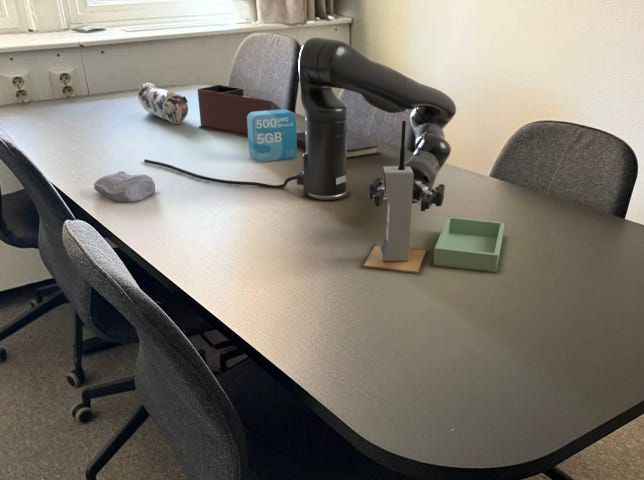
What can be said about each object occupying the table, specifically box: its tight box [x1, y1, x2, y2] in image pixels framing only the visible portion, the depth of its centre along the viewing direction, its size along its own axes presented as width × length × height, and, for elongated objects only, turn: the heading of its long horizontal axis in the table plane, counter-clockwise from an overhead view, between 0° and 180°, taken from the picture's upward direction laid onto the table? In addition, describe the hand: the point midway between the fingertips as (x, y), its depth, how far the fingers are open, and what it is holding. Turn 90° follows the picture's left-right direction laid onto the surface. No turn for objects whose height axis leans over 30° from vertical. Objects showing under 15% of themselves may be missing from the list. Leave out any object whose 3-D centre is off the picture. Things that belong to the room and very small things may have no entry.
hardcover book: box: [296, 131, 380, 160], centre depth 199 cm, size 16×23×2 cm
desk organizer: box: [197, 84, 282, 138], centre depth 210 cm, size 10×29×11 cm, turn 58°
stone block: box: [93, 171, 156, 203], centre depth 160 cm, size 12×5×10 cm
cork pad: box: [363, 244, 427, 274], centre depth 132 cm, size 10×10×1 cm
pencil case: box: [137, 82, 189, 125], centre depth 224 cm, size 22×8×10 cm, turn 38°
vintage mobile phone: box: [380, 120, 414, 261], centre depth 126 cm, size 4×5×25 cm
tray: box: [432, 216, 505, 273], centre depth 136 cm, size 12×18×3 cm, turn 167°
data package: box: [247, 108, 298, 163], centre depth 186 cm, size 12×4×12 cm, turn 118°
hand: (399, 203), depth 130 cm, fingers open, 8 cm apart
